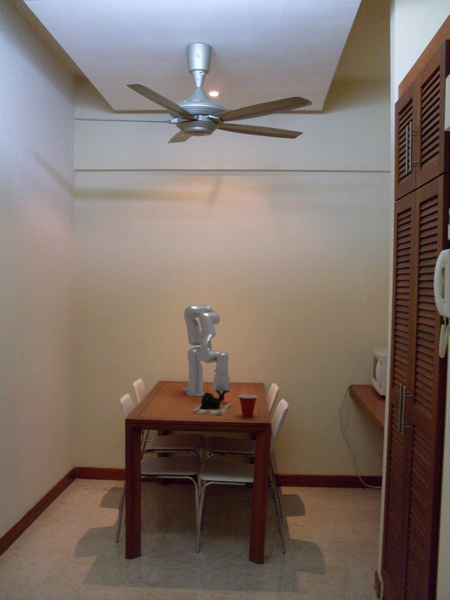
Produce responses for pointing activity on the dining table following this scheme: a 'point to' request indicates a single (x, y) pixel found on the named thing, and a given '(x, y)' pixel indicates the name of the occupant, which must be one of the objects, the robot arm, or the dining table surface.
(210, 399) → the film camera
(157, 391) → the dining table surface
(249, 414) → the plastic cup
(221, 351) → the robot arm
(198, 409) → the camera rest
